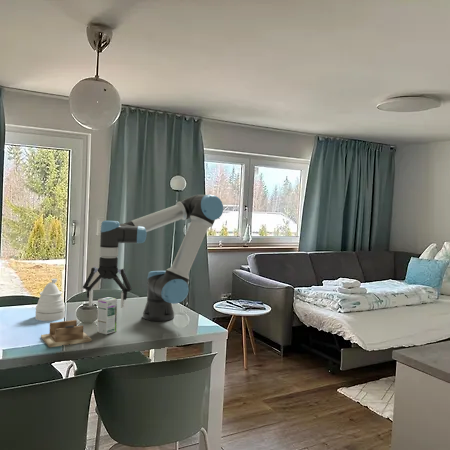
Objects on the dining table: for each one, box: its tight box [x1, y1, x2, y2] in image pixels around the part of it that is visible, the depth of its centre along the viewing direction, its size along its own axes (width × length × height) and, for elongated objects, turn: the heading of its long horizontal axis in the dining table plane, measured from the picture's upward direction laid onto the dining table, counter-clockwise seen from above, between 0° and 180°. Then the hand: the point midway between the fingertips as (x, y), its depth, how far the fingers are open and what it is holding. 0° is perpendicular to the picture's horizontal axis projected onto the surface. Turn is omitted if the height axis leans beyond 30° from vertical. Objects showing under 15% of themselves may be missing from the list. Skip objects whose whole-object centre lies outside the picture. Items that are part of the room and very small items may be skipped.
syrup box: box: [96, 296, 118, 335], centre depth 186 cm, size 6×6×14 cm
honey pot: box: [35, 278, 66, 322], centre depth 205 cm, size 13×13×18 cm
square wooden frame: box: [40, 319, 93, 348], centre depth 174 cm, size 16×14×7 cm
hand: (106, 306), depth 185 cm, fingers open, 13 cm apart
